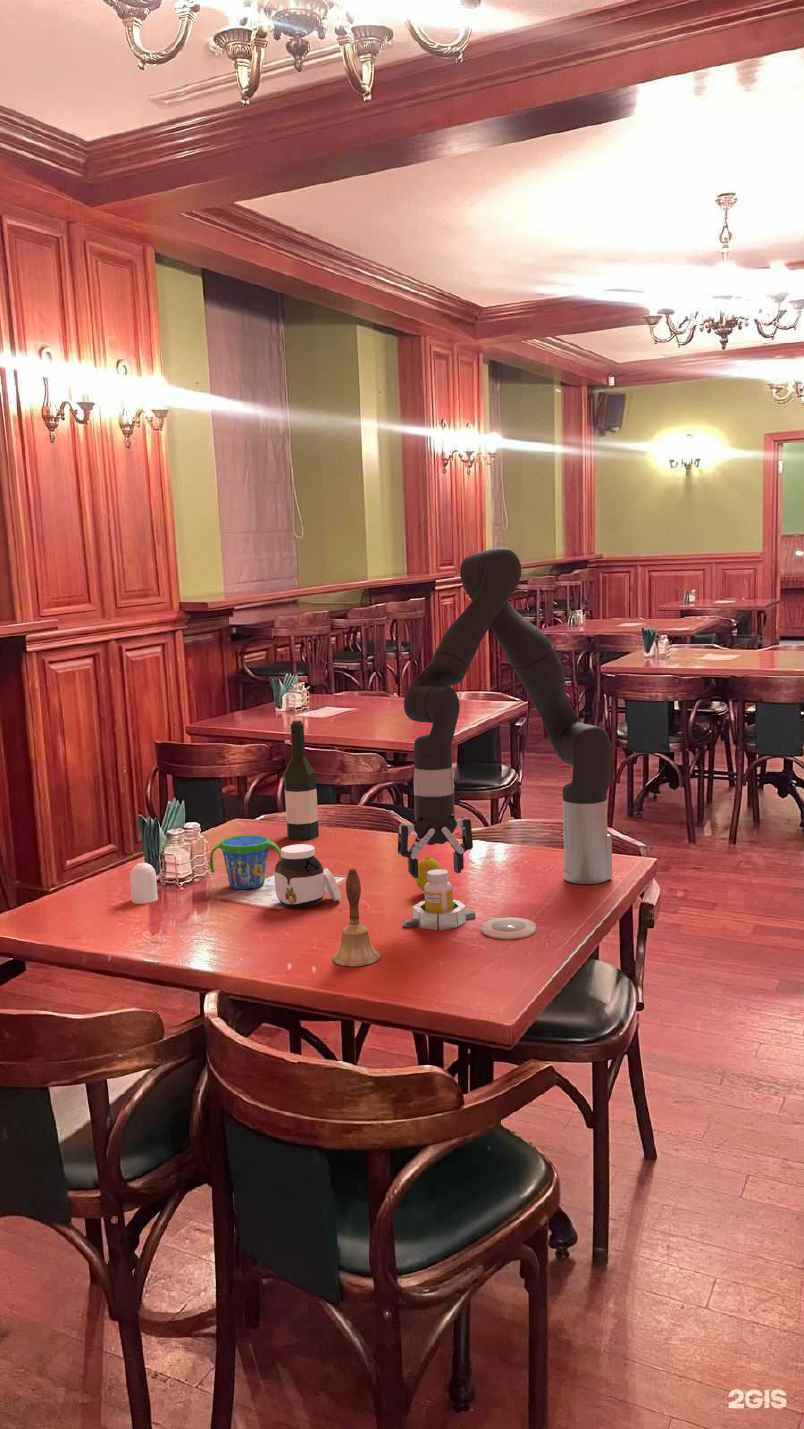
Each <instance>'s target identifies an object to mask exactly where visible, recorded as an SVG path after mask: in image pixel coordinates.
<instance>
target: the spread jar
mask: <svg viewBox="0 0 804 1429" xmlns="http://www.w3.org/2000/svg"><path fill="white" fill-rule="evenodd" d="M280 851H281V856H282V858H281V859H280V860H278V861H277V863H276V865H275V866H274V888H275V895H276V897H277V899H278V901H279V903H280V904H281V905H282V906H284V907H285V908H287V909H294V910H301V909H309V908H312V907H316V905H318V904H319V903H320V902H322V901H323V898H324V897H325V892H327V894H328V895H329V897H330V898H331V899H332V901H333V902H337V901H338V900H341V899H342V893H341V891H340V888H339V886H338V883H337V881H336V878H334V874H332V871H330V870H329V869H328V868H327V867H326V868H324V866H323V865H322V863H321V861H320V860H319V858H318V857H316V850H315V846H313V845H312V844H303V843H302V844H299V843H298V844H290V845H287V846H283V847H282V848H280Z"/></svg>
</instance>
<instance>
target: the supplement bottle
mask: <svg viewBox="0 0 804 1429" xmlns="http://www.w3.org/2000/svg"><path fill="white" fill-rule="evenodd" d="M427 880H428V881H429V882H428V883H426V884H425V886H424V891H423V892H424V895H423V896H424V901H425V911H429V912H437V913H439V912H446V911H453V900H454V896H453V895H454V892H453V890H454V889H453V884H452V883H451V882H450V881H448V880H449V871H448V870H447V869H436V870H430V871H428V872H427Z"/></svg>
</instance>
